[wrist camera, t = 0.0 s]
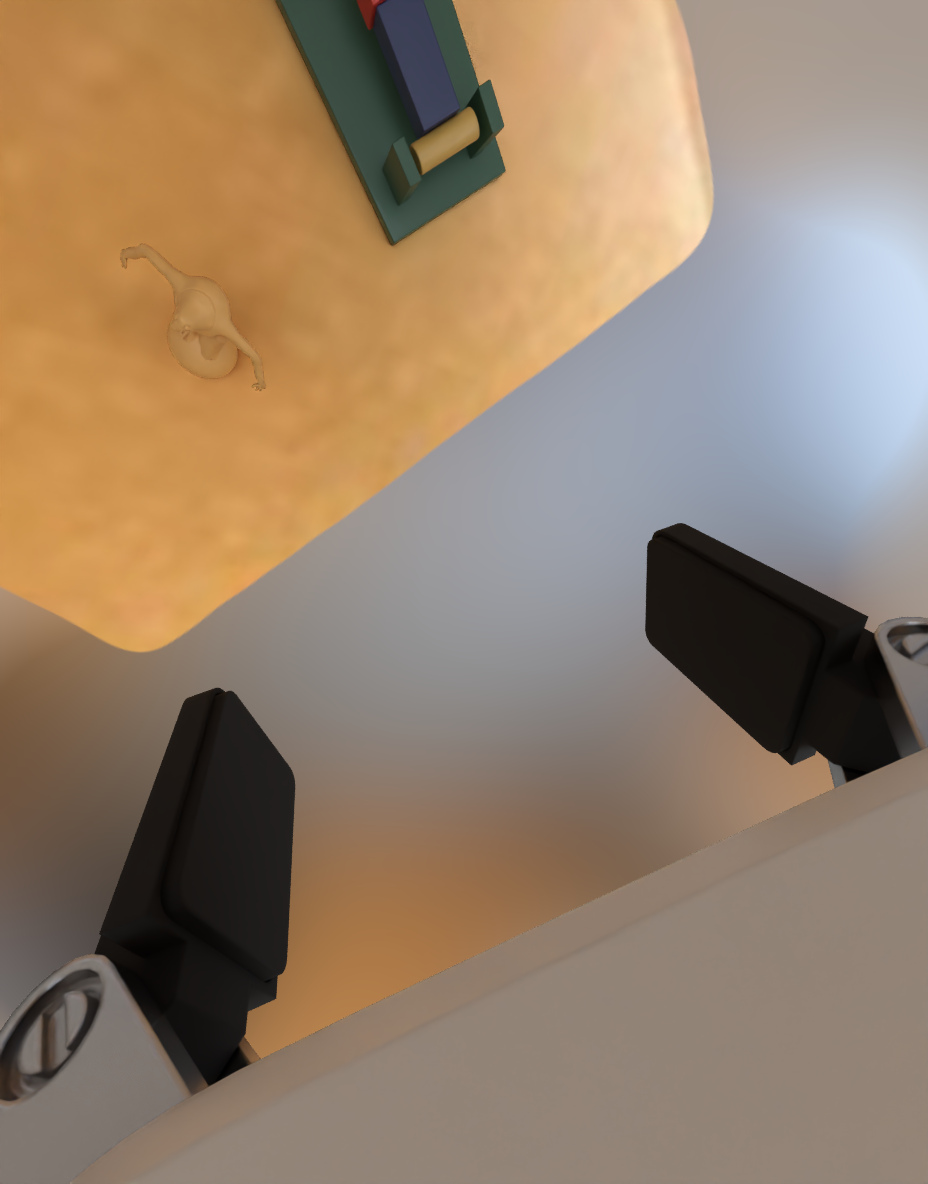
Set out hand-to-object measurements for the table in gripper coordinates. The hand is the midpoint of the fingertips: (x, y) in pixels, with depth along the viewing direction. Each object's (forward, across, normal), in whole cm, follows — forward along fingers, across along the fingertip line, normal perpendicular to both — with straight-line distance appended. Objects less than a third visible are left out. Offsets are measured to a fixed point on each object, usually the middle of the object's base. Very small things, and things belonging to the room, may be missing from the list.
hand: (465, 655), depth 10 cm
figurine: (+31, +7, -8) cm, 33 cm away
